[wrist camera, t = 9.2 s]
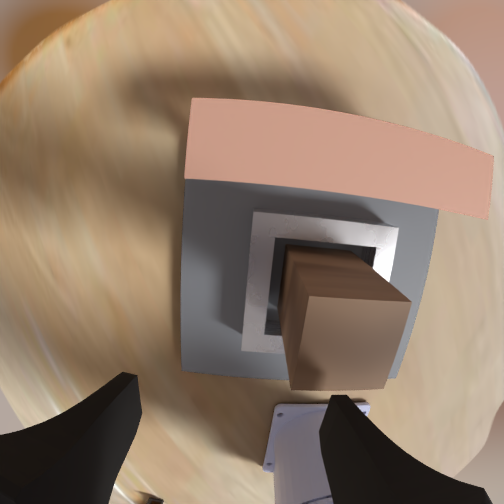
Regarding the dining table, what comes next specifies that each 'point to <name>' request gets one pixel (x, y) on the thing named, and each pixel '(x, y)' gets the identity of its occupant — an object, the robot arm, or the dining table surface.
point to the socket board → (304, 216)
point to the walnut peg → (338, 320)
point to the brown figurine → (154, 501)
